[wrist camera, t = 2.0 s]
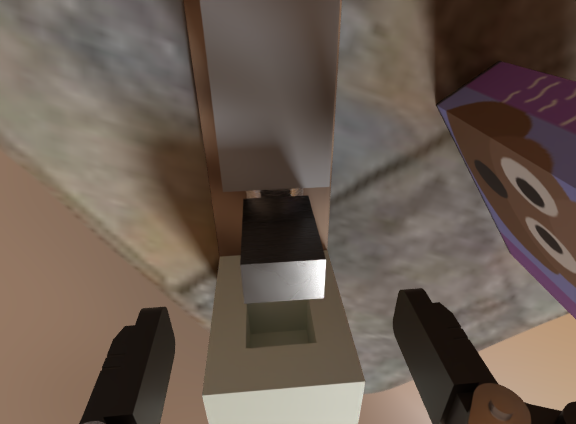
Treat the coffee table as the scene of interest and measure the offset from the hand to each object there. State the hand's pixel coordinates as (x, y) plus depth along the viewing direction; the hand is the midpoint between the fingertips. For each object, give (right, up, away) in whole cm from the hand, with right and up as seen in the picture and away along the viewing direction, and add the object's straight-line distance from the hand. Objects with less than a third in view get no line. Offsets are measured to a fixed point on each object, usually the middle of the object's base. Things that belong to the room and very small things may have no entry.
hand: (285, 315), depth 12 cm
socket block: (-1, -1, +19) cm, 20 cm away
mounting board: (-1, +7, +15) cm, 16 cm away
